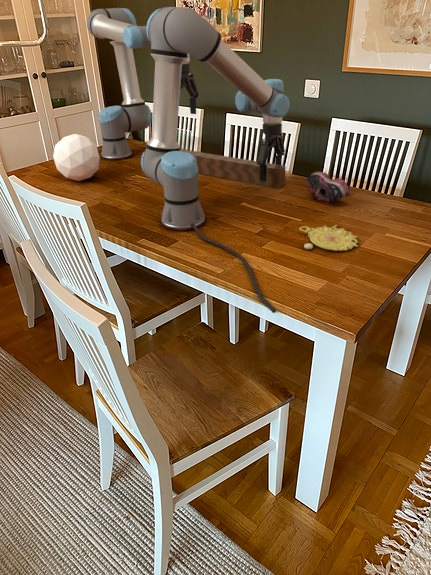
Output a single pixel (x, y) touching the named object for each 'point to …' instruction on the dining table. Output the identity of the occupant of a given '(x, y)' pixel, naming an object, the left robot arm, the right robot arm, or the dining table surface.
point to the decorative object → (330, 238)
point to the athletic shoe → (327, 187)
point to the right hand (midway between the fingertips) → (270, 175)
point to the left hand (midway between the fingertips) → (184, 116)
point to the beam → (238, 169)
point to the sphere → (76, 157)
